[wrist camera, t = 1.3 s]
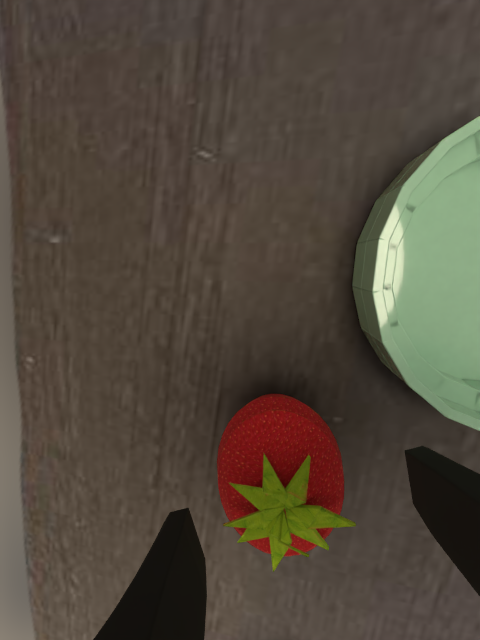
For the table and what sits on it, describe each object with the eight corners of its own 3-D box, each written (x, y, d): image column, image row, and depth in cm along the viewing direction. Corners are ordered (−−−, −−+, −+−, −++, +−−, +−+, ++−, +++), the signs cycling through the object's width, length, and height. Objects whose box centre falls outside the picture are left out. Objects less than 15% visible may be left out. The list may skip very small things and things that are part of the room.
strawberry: (320, 359, 22) (364, 441, 12) (329, 476, 23) (377, 641, 13) (221, 368, 22) (185, 454, 12) (236, 481, 23) (212, 644, 13)
